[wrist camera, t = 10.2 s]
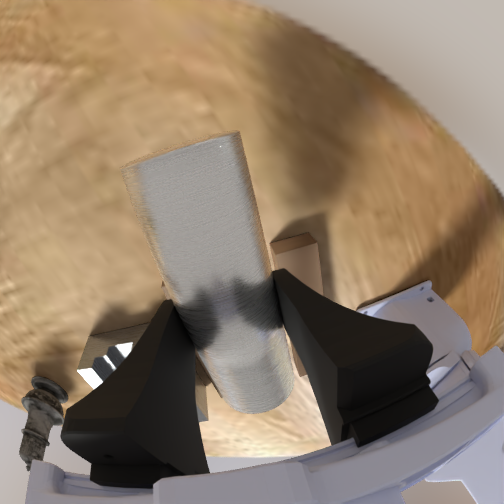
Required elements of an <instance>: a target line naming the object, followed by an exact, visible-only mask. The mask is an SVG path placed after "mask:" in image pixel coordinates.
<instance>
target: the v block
mask: <svg viewBox="0 0 504 504" xmlns="http://www.w3.org/2000/svg"><path fill="white" fill-rule="evenodd" d="M149 324H150V323H146V324H141V325H137V326H133V327H129V328H124V329H120V330H115V331H111V332H106V333H102V334H97V335H93V336H89V338H88V340H87V343H86V346H85V349H84V351H83V354H82V357H81V360H80V363H79V366H78V369H77V371H78V372H79V373H80V374H81V375H82V376H83V378H84V379H85V380H86V381H87V382H88V383H89V384H90V385H91V386H92V388H93V389H95V388H97V387H98V386H99V385H100V384H101V383H102V382H103V381H104V380H105V379H106V378H107V377H108V376H109V375H110V374H111V373H112V372H113V371H114V370H115V369H116V368H117V367H118V366H119V365H120V364H121V363H122V362H123V360H124V359H125V358H126V357H127V356H128V354H129V353H130V352H131V350H132V349H133V348H134V346H135V345H136V343H137V342H138V341H139V339H140V338H141V336H142V335H143V333H144V332H145V330H146V329H147V327H148V325H149ZM195 395H196V407H197V414H198V421H199V422H202V421H208V409H207V397H206V387H205V385H204V384H203V382H202V380H201V379H200V377H199V376H198V374H197V372H196V371H195Z"/></svg>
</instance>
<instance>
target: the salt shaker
mask: <svg viewBox="0 0 504 504" xmlns="http://www.w3.org/2000/svg"><path fill="white" fill-rule="evenodd" d="M31 383H32V386H33V387H34V390H31V391H29V392H28V393H27V394H26V396H25V397H23V398H22V400H21V402H22V404H23V406H24V408H25V409H26V410H27V411H28V419H27V423H26V426H25V429H22V433H23V439H22V443H21V447H20V451H19V454H20V457H21V458H22V460H23V461H25V463H26V464H27V466H26V468H27V471H30V469H31V464H32V460H34V459H35V460H39V461H43V457H44V452H45V448H46V446H49V444H50V443H49V442H48V437H49V433H50V430H51V428H52V426H53V425H56V426H60V425H63V423H64V418H63V415H64V414H63V408H62V406H61V404H60V403H65V402H67V400H68V395H67V393H66V392H65V391H64V390H63V389H62V388H61V387H60V386H59V385H58V384H56V383H55V382H53V381H51V380H49V379H47V378H44V377H40V376H36V377H33V378H32V381H31Z"/></svg>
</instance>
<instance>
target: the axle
mask: <svg viewBox="0 0 504 504" xmlns="http://www.w3.org/2000/svg"><path fill="white" fill-rule="evenodd" d="M120 170H121V173H122V176H123V179H124V182H125V185H126V188H127V191H128V194H129V196H130V199H131V202H132V205H133V207H134V210H135V213H136V216H137V218H138V221H139V224H140V226H141V229H142V231H143V234H144V236H145V239H146V241H147V244H148V246H149V249H150V251H151V254H152V256H153V258H154V261H155V263H156V266H157V268H158V270H159V272H160V275H161V277H162V279H163V282H164V284H165V286H166V288H167V290H168V293H169V295H170V297H171V299H172V301H173V303H174V306H175V308H176V310H177V312H178V314H179V316H180V318H181V320H182V322H183V324H184V326H185V328H186V330H187V332H188V334H189V336H190V338H191V340H192V342H193V344H194V346H195V348H196V350H197V352H198V354H199V355H200V357H201V359H202V361H203V363H204V365H205V367H206V368H207V370H208V372H209V374H210V376H211V378H212V379H213V381H214V383H215V385H216V386H217V388H218V390H219V392H220V393H221V395H222V397H223V398H224V400H225V402H226V403H227V404H228V405H229V406H230V407H232V408H233V409H235V410H237V411H240V412H243V413H250V414H255V413H263V412H266V411H269V410H272V409H274V408H276V407H277V406H279V405H280V404H282V403H283V402H284V401H285V400H286V399H287V398H288V396H289V395H290V393H291V391H292V389H293V386H294V373H293V368H292V363H291V358H290V354H289V349H288V344H287V339H286V334H285V330H284V325H283V321H282V316H281V312H280V307H279V302H278V298H277V293H276V288H275V284H274V279H273V274H272V269H271V265H270V260H269V256H268V251H267V247H266V242H265V238H264V233H263V229H262V225H261V220H260V216H259V211H258V207H257V203H256V198H255V194H254V190H253V185H252V181H251V177H250V172H249V168H248V164H247V160H246V156H245V151H244V147H243V143H242V139H241V135H240V131H239V130H234V131H227V132H222V133H217V134H213V135H208V136H204V137H201V138H197V139H193V140H190V141H186V142H183V143H180V144H176V145H173V146H170V147H167V148H164V149H162V150H159V151H156V152H153V153H151V154H148V155H146V156H143V157H141V158H138V159H136V160H134V161H132V162H129V163H127V164H125V165H124V166H122V167H121V168H120Z"/></svg>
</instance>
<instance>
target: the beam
mask: <svg viewBox="0 0 504 504" xmlns="http://www.w3.org/2000/svg"><path fill="white" fill-rule="evenodd" d="M270 248H271V252H272V257H273V261H274V266H275V270H278V269H282V268H285V269H287V270H288V271H289V272H290V273H291V274H292V275H294V276H295V277H296V278H298V279H299V280H300V281H301V282H303V283H304V284H306V285H307V286H308V287H310V288H311V289H313V290H314V291H316V292H318V293H319V294H321V295H322V296H323V286H322V276H321V267H320V259H319V251H318V243H317V242H316V240H315V239H314V238H313V237H312V236H311V235H310V233H309V232H308V233H305V234H301V235H298V236H294V237H291V238H287V239H284V240H280V241H277V242H273V243H270ZM162 289H163V291H164V293H165V295H166V297H167V300H169V299H171V297H170V295H169V293H168V290H167V288H166V286H165V284H164V282H162ZM290 341H291V340H290ZM291 346H292V351H293V356H294V361H295V365H296V368H297V370H298V373H299V376H300V377H301V376H304V375H307V373H306V370H305V368H304V366H303V364H302V362H301V360H300V358H299V356H298V354H297V352H296V350H295V348H294V346H293V344H292V342H291ZM195 354H196V356H197V357H198V359H199V361H200V363H201V365H202V366H203V368H204V370H205V372H206V373H207V375H208V377H209V378H210V380H211V382H212V384H213V385H214V387H215V389H216V390H217V392H218V394H219V395H220V397H221V398H223V397H222V395H221V393H220V392H219V390H218V388H217V386H216V385H215V383H214V381H213V379H212V378H211V376H210V374H209V372H208V370H207V368H206V367H205V365H204V363H203V361H202V359H201V357H200V355H199V354H198V352H197V350H196V348H195Z"/></svg>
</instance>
